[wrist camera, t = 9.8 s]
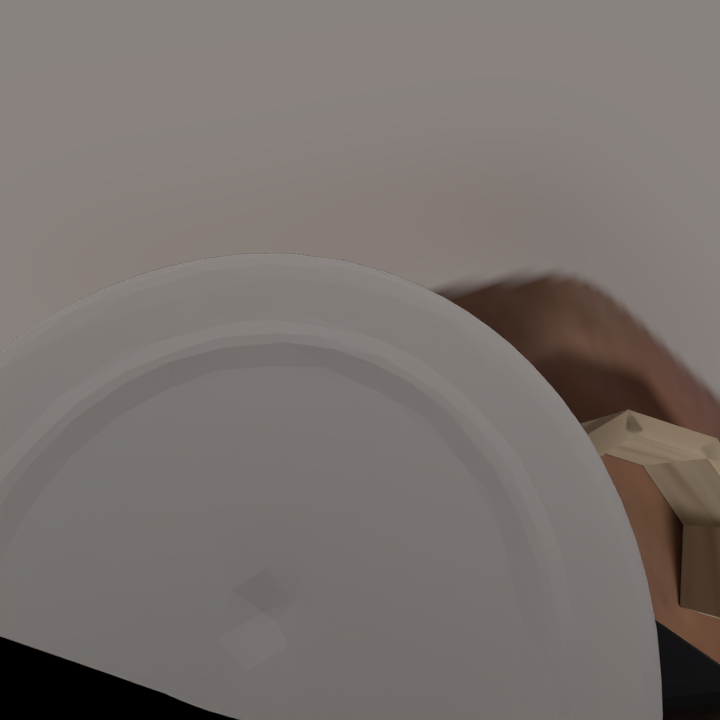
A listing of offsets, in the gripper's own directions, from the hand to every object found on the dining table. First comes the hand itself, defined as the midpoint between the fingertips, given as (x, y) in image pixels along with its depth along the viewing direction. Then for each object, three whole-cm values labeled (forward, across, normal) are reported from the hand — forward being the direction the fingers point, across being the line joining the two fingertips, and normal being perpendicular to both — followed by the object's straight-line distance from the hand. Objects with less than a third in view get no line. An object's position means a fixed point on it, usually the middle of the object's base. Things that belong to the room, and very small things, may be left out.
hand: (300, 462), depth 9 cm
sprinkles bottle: (+4, 0, +6) cm, 7 cm away
